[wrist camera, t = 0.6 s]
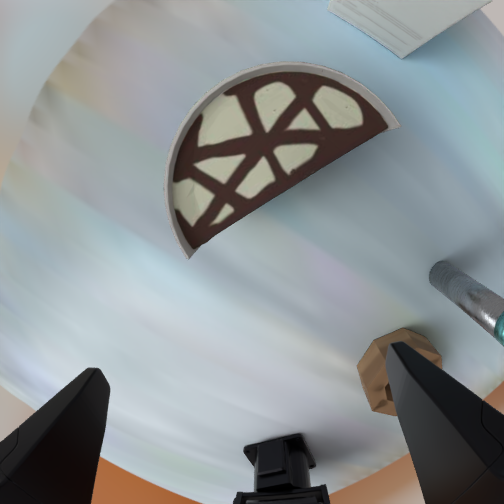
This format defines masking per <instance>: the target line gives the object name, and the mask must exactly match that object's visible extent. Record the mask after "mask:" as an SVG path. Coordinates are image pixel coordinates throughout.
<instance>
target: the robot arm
mask: <svg viewBox="0 0 504 504" xmlns="http://www.w3.org/2000/svg"><path fill="white" fill-rule="evenodd" d="M385 367H386V372H387V376H388V380H389V384H390V388H391V393H392V397H393V401H394V406H395V410H396V413H397V416H398V419H399V422H400V425H401V428H402V431H403V433H404V436H405V439H406V442H407V445H408V448H409V451H410V454H411V457H412V461H413V464H414V467H415V470H416V473H417V477H418V480H419V483H420V486H421V490H422V493H423V497H424V500H425V504H504V415H503V414H502V413H501V412H499V411H498V410H496V409H495V408H493V407H492V406H491V405H489V404H488V403H486V402H485V401H482V399H481V398H480V397H478V396H477V395H476V394H474V393H473V392H472V391H470V390H469V389H468V388H466V387H465V386H464V385H462V384H461V383H460V382H458V381H457V380H456V379H454V378H453V377H451V376H450V375H449V374H447V373H446V372H445V371H443V370H442V369H441V368H439V367H438V366H436V365H435V364H434V363H432V362H431V361H430V360H428V359H427V358H426V357H424V356H423V355H421V354H420V353H419V352H417V351H416V350H415V349H413V348H412V347H410V346H409V345H408V344H406V343H405V342H403V341H397V342H392V343H390V344H389V346H388V351H387V356H386V362H385ZM109 397H110V385H109V383H108V381H107V380H106V378H105V376H104V375H103V373H102V371H101V370H100V369H99V368H87V369H86V370H84V371H83V372H82V373H81V374H80V375H78V376H77V377H76V378H75V379H74V380H73V381H71V382H70V383H69V384H68V385H67V386H65V387H64V388H63V389H62V390H61V391H60V392H58V393H57V394H56V395H55V396H54V397H53V398H51V399H50V400H49V401H48V402H47V403H46V404H44V405H43V406H42V407H41V408H40V409H39V410H37V411H36V412H35V413H34V414H33V415H32V416H30V417H29V418H28V419H27V420H26V421H25V422H24V423H22V424H21V425H20V426H19V428H17V429H15V430H14V431H13V432H12V433H11V434H10V435H8V436H7V437H6V438H5V439H4V440H2V441H1V442H0V504H91V500H92V494H93V489H94V483H95V477H96V472H97V467H98V462H99V457H100V452H101V447H102V443H103V438H104V433H105V428H106V420H107V412H108V404H109ZM297 438H298V439H297ZM243 452H244V454H245V455H246V457H247V458H248V459H249V461H250V462H251V463H252V465H253V466H254V468H255V471H254V492H244V493H243V492H237V495H236V498H234V501H233V504H330V500H329V495H328V491H327V487H326V484H324V485H320V486H316V487H311V483H310V475H309V469H312V468H315V467H316V462H315V460H314V458H313V456H312V454H311V452H310V450H309V448H308V446H307V444H306V442H305V440H304V438H303V436H302V435H301V434H295V435H292V436H288V437H284V438H280V439H276V440H272V441H268V442H264V443H260V444H255V445H251V446H246V447H244V449H243Z"/></svg>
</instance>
